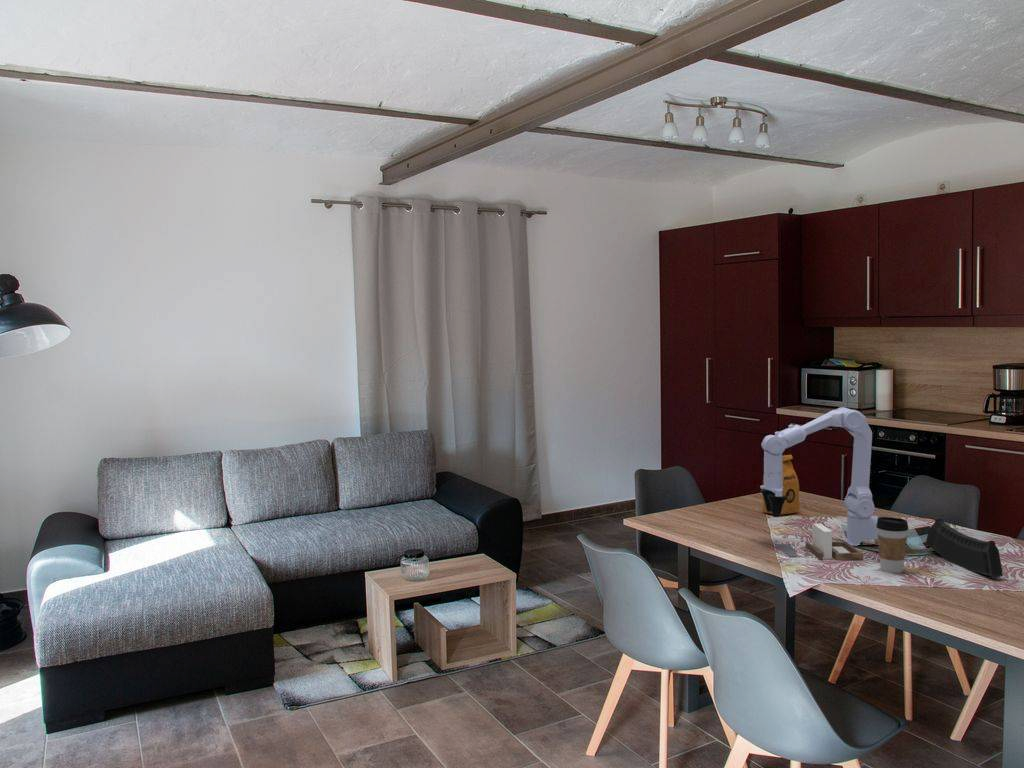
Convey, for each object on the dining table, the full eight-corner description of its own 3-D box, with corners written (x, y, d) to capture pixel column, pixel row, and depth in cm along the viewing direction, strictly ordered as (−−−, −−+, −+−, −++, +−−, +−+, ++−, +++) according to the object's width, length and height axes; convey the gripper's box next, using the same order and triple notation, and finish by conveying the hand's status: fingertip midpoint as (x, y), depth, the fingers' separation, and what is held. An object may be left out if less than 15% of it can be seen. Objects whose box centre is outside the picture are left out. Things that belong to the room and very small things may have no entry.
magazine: (1010, 550, 222) (944, 497, 250) (998, 551, 222) (934, 497, 250) (996, 603, 228) (934, 545, 256) (985, 604, 228) (924, 546, 256)
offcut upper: (842, 549, 258) (842, 546, 258) (850, 555, 251) (850, 552, 251) (831, 549, 258) (831, 546, 258) (839, 556, 251) (839, 552, 251)
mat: (797, 544, 265) (797, 543, 265) (812, 557, 251) (812, 556, 251) (775, 545, 265) (775, 544, 265) (789, 557, 251) (789, 556, 251)
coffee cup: (871, 565, 241) (871, 515, 240) (900, 565, 241) (900, 515, 240) (883, 574, 233) (883, 522, 232) (913, 574, 232) (913, 522, 231)
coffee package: (803, 514, 307) (803, 455, 305) (777, 517, 302) (777, 458, 300) (785, 508, 316) (785, 452, 314) (759, 512, 311) (759, 455, 309)
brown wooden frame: (845, 547, 261) (845, 541, 261) (863, 560, 247) (863, 553, 247) (804, 548, 261) (804, 542, 261) (820, 560, 247) (820, 554, 247)
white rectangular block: (820, 550, 259) (820, 523, 258) (831, 559, 249) (832, 531, 248) (812, 550, 259) (812, 523, 258) (823, 559, 249) (824, 531, 248)
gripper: (755, 468, 272) (755, 509, 273) (766, 476, 257) (766, 519, 258) (777, 468, 271) (777, 508, 272) (789, 476, 257) (789, 519, 258)
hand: (773, 514), depth 265 cm, fingers open, 7 cm apart
